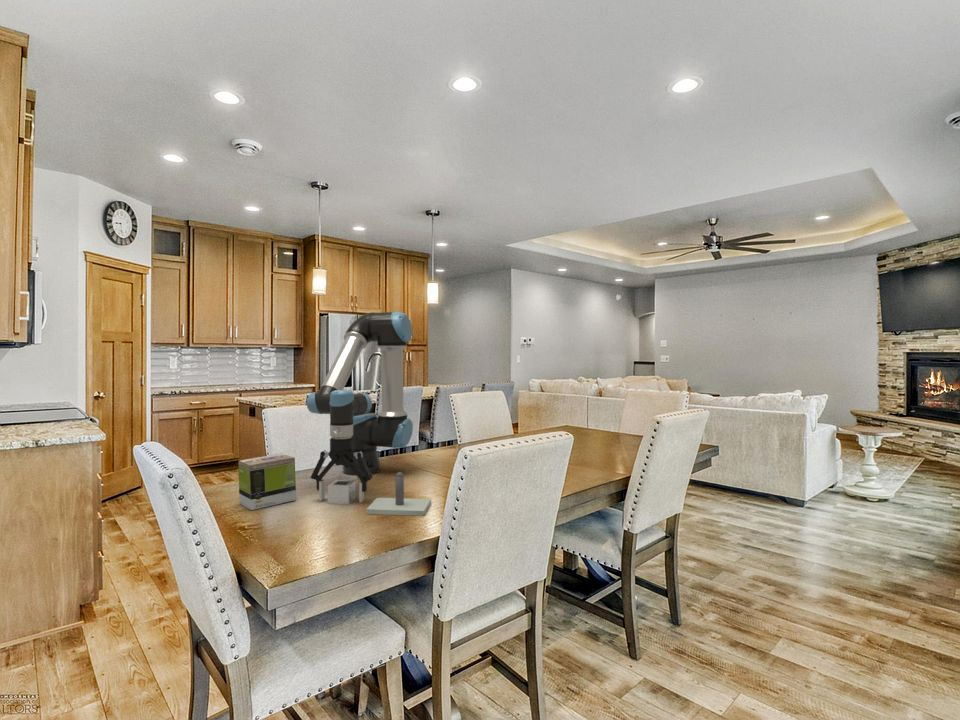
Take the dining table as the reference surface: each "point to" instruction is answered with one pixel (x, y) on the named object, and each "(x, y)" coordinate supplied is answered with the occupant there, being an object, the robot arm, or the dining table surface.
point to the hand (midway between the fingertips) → (341, 500)
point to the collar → (341, 492)
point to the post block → (399, 502)
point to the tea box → (267, 481)
